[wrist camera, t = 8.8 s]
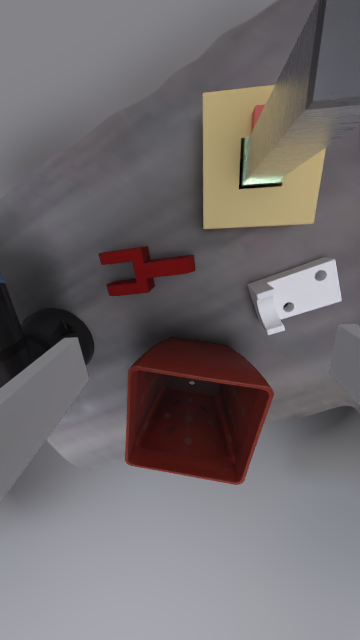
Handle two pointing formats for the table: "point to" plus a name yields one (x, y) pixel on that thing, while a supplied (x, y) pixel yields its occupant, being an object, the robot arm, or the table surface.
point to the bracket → (295, 292)
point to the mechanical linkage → (144, 269)
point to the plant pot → (195, 410)
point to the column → (309, 96)
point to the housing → (224, 166)
